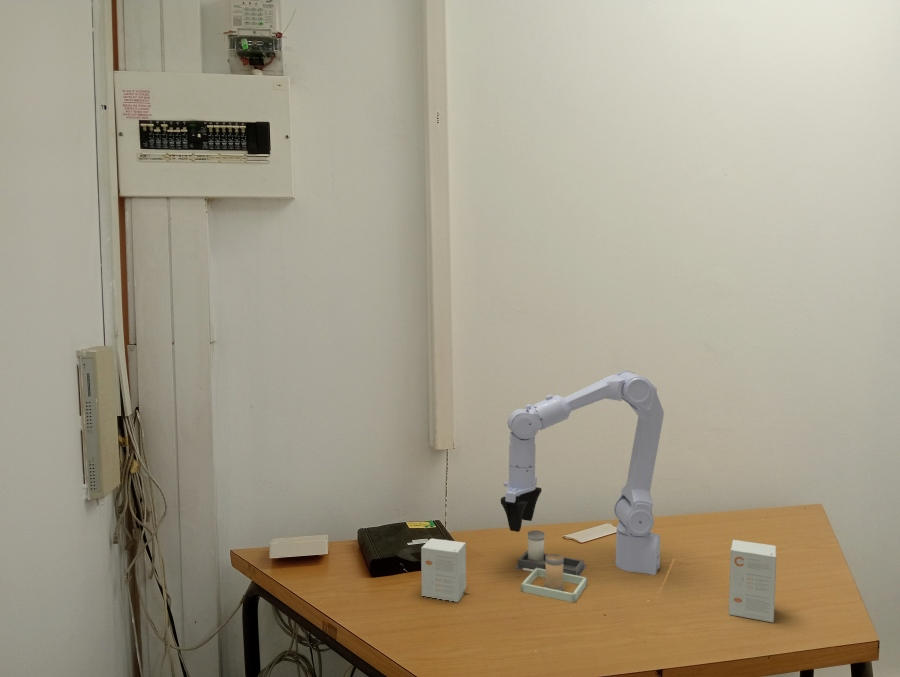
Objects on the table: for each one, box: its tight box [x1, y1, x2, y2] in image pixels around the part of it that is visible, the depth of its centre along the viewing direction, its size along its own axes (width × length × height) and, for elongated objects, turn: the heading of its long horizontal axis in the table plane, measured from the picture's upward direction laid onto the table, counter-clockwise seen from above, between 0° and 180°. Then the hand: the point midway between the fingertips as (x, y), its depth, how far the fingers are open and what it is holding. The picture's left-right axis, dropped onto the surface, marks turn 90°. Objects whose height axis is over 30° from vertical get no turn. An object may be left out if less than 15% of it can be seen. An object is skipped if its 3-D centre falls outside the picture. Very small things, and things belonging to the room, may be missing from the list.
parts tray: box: [520, 568, 588, 603], centre depth 145 cm, size 11×9×2 cm
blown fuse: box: [544, 553, 565, 591], centre depth 145 cm, size 4×4×7 cm
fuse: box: [527, 530, 546, 563], centre depth 157 cm, size 4×4×7 cm
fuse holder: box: [513, 549, 588, 576], centre depth 156 cm, size 14×9×2 cm, turn 64°
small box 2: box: [728, 539, 777, 624], centre depth 137 cm, size 8×6×13 cm
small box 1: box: [420, 537, 467, 603], centre depth 144 cm, size 8×6×10 cm
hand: (521, 525), depth 155 cm, fingers open, 7 cm apart
